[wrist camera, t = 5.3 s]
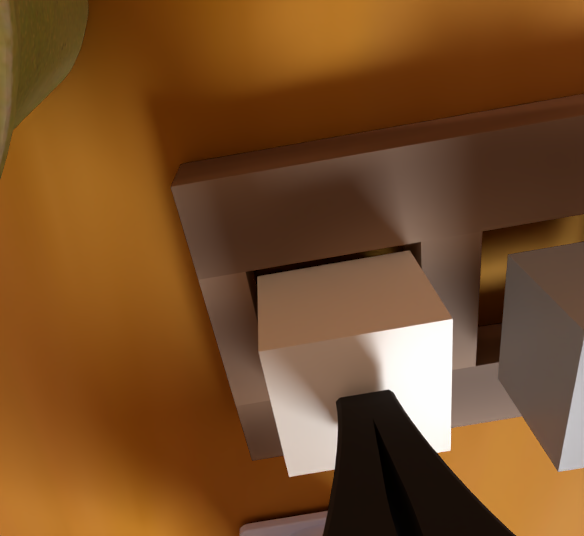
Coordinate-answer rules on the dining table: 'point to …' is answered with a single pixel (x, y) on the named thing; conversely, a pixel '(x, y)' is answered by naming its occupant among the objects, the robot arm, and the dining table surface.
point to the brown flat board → (379, 228)
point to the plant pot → (35, 55)
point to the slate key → (547, 348)
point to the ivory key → (352, 350)
